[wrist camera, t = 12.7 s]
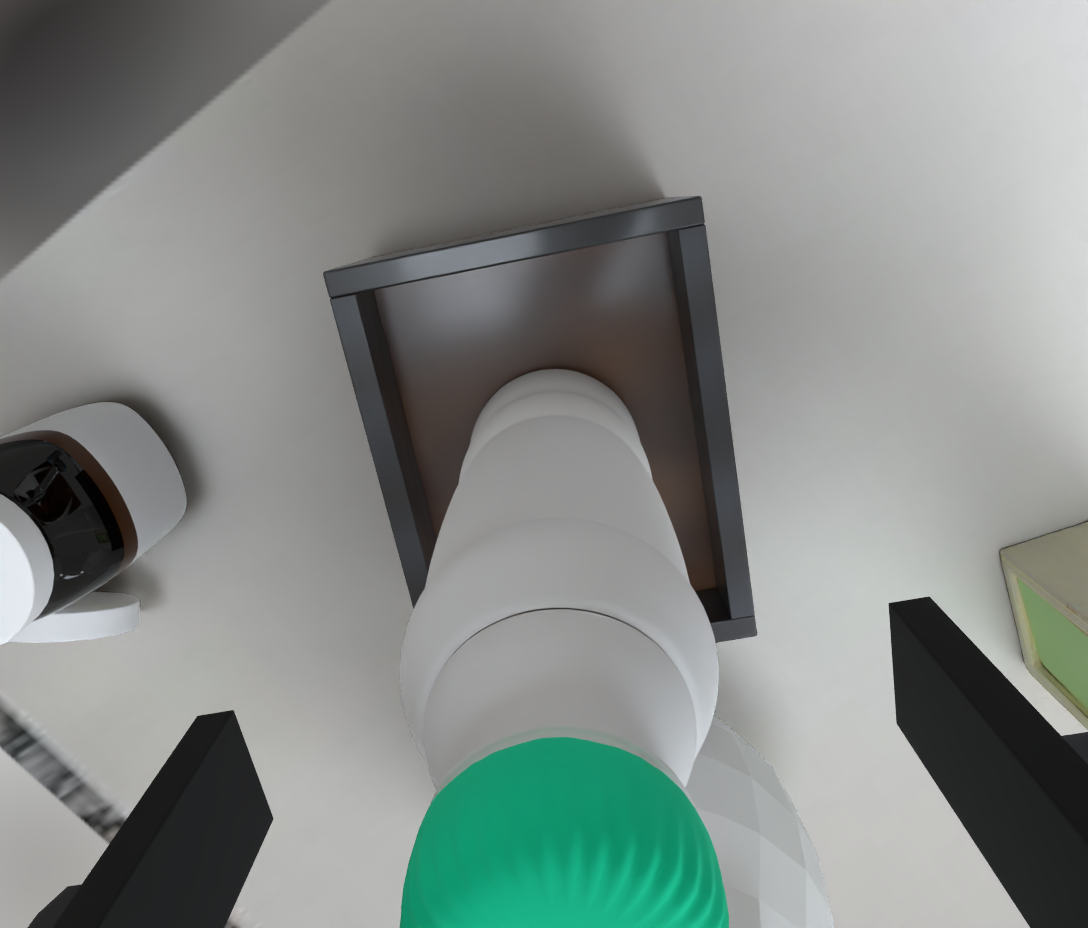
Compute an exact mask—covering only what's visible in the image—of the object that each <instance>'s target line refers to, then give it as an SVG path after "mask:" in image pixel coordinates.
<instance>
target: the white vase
mask: <svg viewBox="0 0 1088 928" xmlns="http://www.w3.org/2000/svg"><path fill="white" fill-rule="evenodd" d="M685 788H686V790H687V791H688V793H689V795H690V797H691V799H692V800H693V802H694V804H695V807H696V810H697V812H698V814H699V816H700V818H701V820H702V821H703V823H704V825H705V827H706V829H707V831H708V833H709V835H710V838H711V841H712V843H713V846H714V849H715V852H716V855H717V858H718V863H719V867H720V871H721V875H722V880H723V885H724V889H725V893H726V899H727V906H728V913H729V928H835V927H834V922H833V918H832V913H831V909H830V904H829V900H828V895H827V891H826V886H825V881H824V877H823V873H822V868H821V864H820V859H819V856H818V854H817V852H816V850H815V848H814V846H813V843H812V841H811V839H810V837H809V835H808V833H807V831H806V829H805V827H804V825H803V822H802V820H801V818H800V816H799V814H798V812H797V810H796V808H795V806H794V804H793V802H792V800H791V799H790V797H789V795H788V794H787V792H786V790H785V788H784V787H783V785H782V783H781V782H780V780H779V778H778V777H777V775H776V773H775V771H774V770H773V768H772V766H771V765H770V764H768V763H767V762H766V761H765V760H764V759H763V758H762V757H761V756H760V755H759V754H758V753H757V752H756V751H755V750H754V749H753V748H752V747H751V746H750V745H749V744H748V743H746V742H745V741H744V740H743V739H742V738H741V737H740V736H739V735H738V734H736V733H735V732H734V731H733V730H732V729H730V728H729V727H728V726H727V725H726V724H725V723H723V722H722V721H721V720H720V719H719V718H717V717H716V716H715V715H713V719H712V722H711V725H710V728H709V731H708V733H707V736H706V738H705V740H704V742H703V745H702V747H701V749H700V750H699V752H698V754H697V756H696V758H695V760H694V763H693V767H692V771H691V774H690V777H689V780H688V782H687V785H686V787H685Z"/></svg>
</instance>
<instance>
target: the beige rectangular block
mask: <svg viewBox="0 0 1088 928" xmlns="http://www.w3.org/2000/svg"><path fill="white" fill-rule="evenodd" d="M1000 557H1001V562H1002V567H1003V571H1004V576H1005V580H1006V584H1007V588H1008V592H1009V597H1010V601H1011V605H1012V610H1013V614H1014V618H1015V622H1016V627H1017V631H1018V635H1019V640H1020V644H1021V648H1022V652H1023V657H1024V661H1025V665H1026V668H1027V669H1028V671H1029V673H1030V674H1031V675H1032V676H1033V677H1034V678H1035V679H1036V680H1037V681H1038V682H1039V683H1040V684H1041V685H1042V686H1043V687H1044V688H1045V689H1046V690H1047V691H1048V692H1049V693H1050V694H1051V695H1052V696H1053V697H1054V698H1055V699H1056V700H1057V701H1058V702H1060V703H1061V704H1062V705H1063V706H1064V707H1065V708H1066V709H1067V710H1068V711H1069V712H1070V713H1071V714H1072V715H1073V716H1074V717H1075V718H1076V719H1077V720H1078V721H1079V722H1080V723H1081V724H1082V725H1083V726H1084V727H1085V728H1086V729H1087V730H1088V522H1085V523H1082V524H1079V525H1076V526H1073V527H1070V528H1066V529H1063V530H1060V531H1057V532H1054V533H1051V534H1048V535H1044V536H1042V537H1039V538H1036V539H1033V540H1029V541H1026V542H1023V543H1020V544H1017V545H1014V546H1011V547H1008V548H1005V549H1002V550H1001V552H1000Z"/></svg>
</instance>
